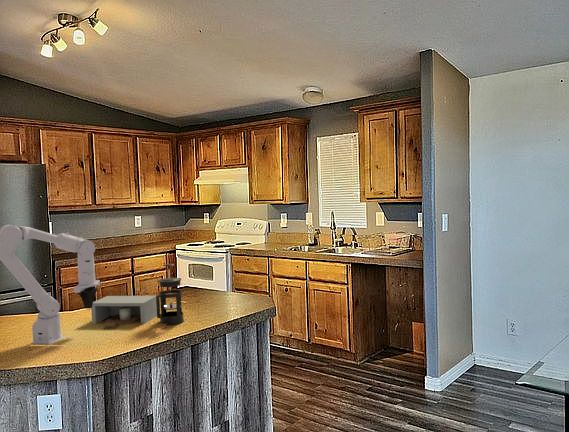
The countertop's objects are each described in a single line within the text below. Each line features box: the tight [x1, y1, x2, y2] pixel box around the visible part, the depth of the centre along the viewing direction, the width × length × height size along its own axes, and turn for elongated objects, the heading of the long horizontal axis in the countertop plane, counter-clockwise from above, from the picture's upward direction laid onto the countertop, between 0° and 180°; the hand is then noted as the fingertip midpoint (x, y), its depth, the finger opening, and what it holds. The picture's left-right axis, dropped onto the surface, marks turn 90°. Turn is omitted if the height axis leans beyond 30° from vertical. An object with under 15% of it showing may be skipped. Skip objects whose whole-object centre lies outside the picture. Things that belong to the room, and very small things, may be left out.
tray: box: [103, 315, 141, 330], centre depth 204 cm, size 17×11×2 cm, turn 171°
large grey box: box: [90, 295, 157, 325], centre depth 209 cm, size 13×22×9 cm, turn 81°
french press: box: [155, 263, 185, 326], centre depth 203 cm, size 12×9×23 cm
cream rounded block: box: [119, 307, 131, 320], centre depth 209 cm, size 4×4×4 cm
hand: (88, 308), depth 193 cm, fingers closed
